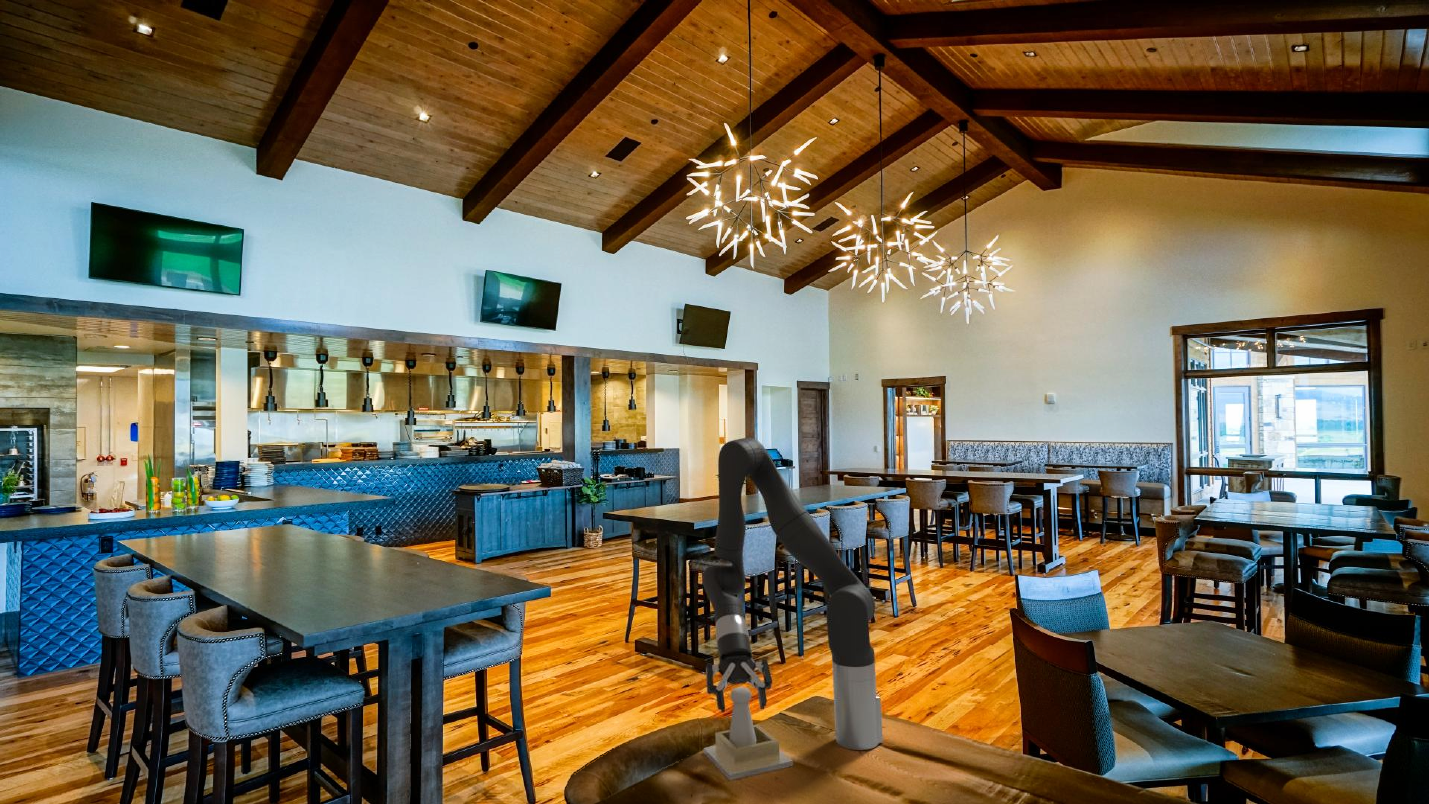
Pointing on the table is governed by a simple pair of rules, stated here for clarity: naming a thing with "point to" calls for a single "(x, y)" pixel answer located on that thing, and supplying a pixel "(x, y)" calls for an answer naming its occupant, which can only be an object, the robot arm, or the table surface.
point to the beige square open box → (747, 755)
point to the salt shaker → (741, 719)
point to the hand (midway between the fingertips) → (743, 709)
